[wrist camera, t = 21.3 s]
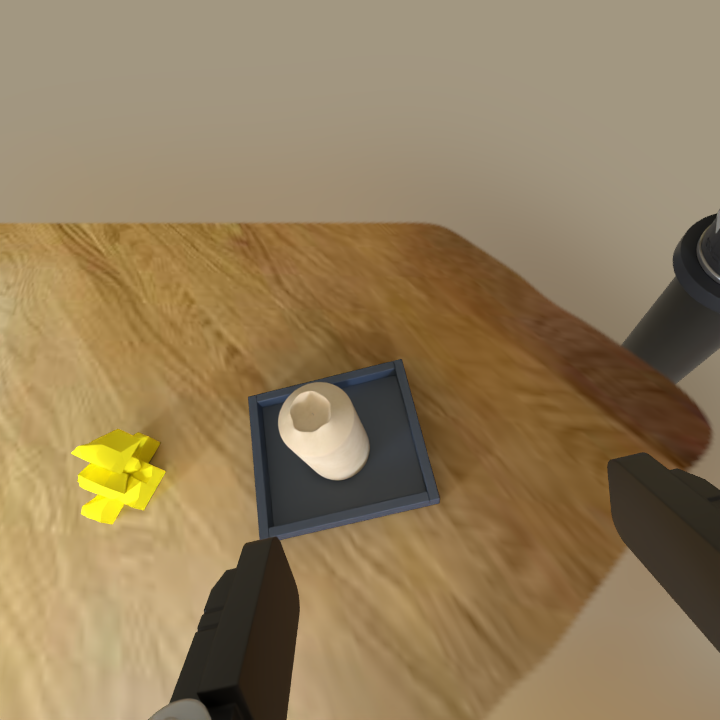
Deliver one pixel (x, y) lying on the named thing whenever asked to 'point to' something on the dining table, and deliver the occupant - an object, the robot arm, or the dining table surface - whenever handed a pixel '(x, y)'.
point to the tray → (360, 492)
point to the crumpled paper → (118, 473)
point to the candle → (324, 430)
